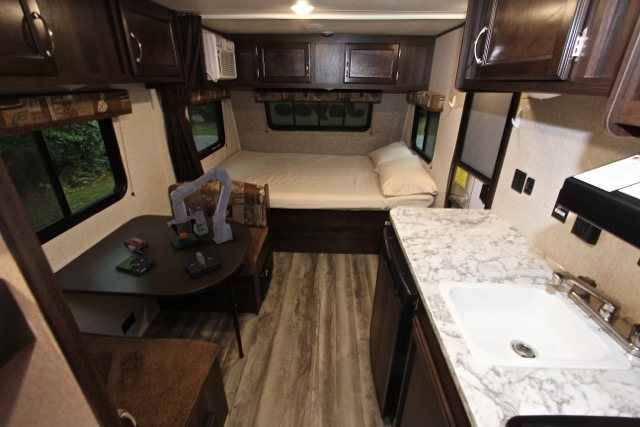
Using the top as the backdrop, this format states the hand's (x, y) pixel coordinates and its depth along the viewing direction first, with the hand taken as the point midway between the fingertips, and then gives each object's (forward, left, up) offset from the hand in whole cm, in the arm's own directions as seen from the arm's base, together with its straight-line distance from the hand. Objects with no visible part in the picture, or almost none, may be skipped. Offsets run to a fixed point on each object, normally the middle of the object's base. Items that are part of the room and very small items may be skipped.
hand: (184, 233), depth 163 cm
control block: (0, -5, -8) cm, 10 cm away
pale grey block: (+1, +25, -5) cm, 25 cm away
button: (0, -5, -5) cm, 7 cm away
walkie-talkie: (+22, -15, -8) cm, 28 cm away
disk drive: (+27, +5, -8) cm, 28 cm away
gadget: (+1, +26, -8) cm, 27 cm away
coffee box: (-12, -12, -8) cm, 19 cm away
